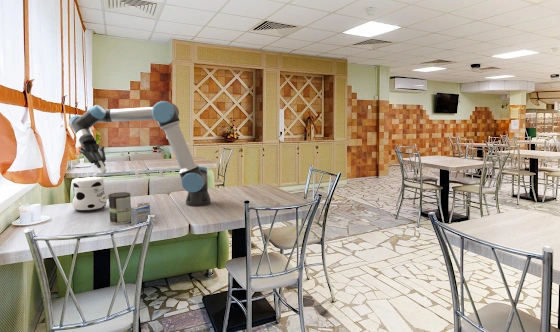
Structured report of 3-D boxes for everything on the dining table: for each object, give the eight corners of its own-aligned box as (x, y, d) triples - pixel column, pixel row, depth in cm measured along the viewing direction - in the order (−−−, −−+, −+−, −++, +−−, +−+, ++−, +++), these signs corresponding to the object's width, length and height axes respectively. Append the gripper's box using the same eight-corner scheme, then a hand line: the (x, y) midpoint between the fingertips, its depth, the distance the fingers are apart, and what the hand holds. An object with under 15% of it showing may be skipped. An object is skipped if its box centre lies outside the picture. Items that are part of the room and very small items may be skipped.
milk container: (111, 209, 201) (109, 179, 199) (79, 215, 189) (76, 182, 187) (100, 204, 213) (98, 175, 211) (69, 209, 200) (66, 179, 198)
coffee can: (106, 224, 171) (104, 196, 170) (114, 218, 182) (112, 192, 180) (128, 223, 172) (126, 196, 171) (134, 218, 183) (133, 192, 181)
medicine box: (136, 226, 168) (136, 209, 167) (131, 225, 170) (130, 207, 169) (150, 222, 175) (149, 205, 174) (145, 221, 177) (144, 204, 176)
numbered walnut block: (150, 215, 189) (149, 202, 188) (150, 217, 184) (149, 204, 183) (138, 216, 187) (137, 203, 186) (138, 218, 181) (137, 205, 180)
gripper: (96, 143, 196) (114, 174, 189) (72, 144, 186) (89, 177, 178) (100, 134, 192) (118, 165, 185) (76, 134, 182) (94, 168, 174)
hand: (104, 171), depth 182 cm, fingers closed
